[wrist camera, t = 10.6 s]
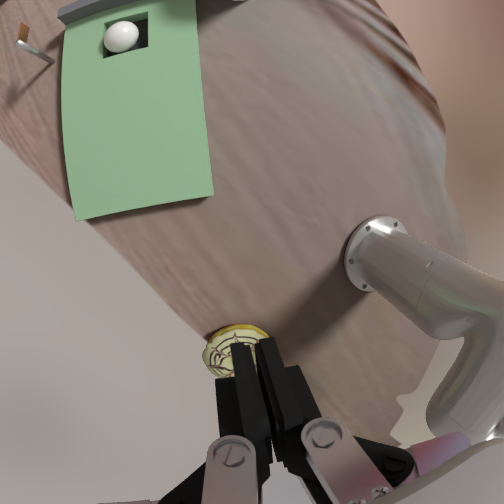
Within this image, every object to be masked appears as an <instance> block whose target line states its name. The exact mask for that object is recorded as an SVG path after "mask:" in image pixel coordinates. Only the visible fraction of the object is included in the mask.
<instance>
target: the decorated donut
mask: <svg viewBox="0 0 504 504" xmlns="http://www.w3.org/2000/svg"><path fill="white" fill-rule="evenodd" d="M268 337H269V336H268V335H267V334H266V333H265V332H264V331H262V330H261V329H259V328H257V327H255V326H253V325H250V324H233V325H230V326H226V327H224V328H222V329H220V330H219V331H217V332H216V333H215V334H214V335H213V336H212V337H211V338H210V340H209V341H208V343H207V345H206V349H205V350H204V351H203V355H202V357H203V361H204V362H205V364H206V366H207V368H208V369H209V370H210V371H211V372H212V373H213V374H214V375H216V376H217V377H219V378H226V377H233V376H234V370H233V363H232V356H231V349H230V343H237V342H244V345H248V344H250V347H251V351H252V355H253V359H254V363H255V367H256V359H255V349H254V344H255V343H259V339H262V338H268ZM256 371H257V368H256Z"/></svg>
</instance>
